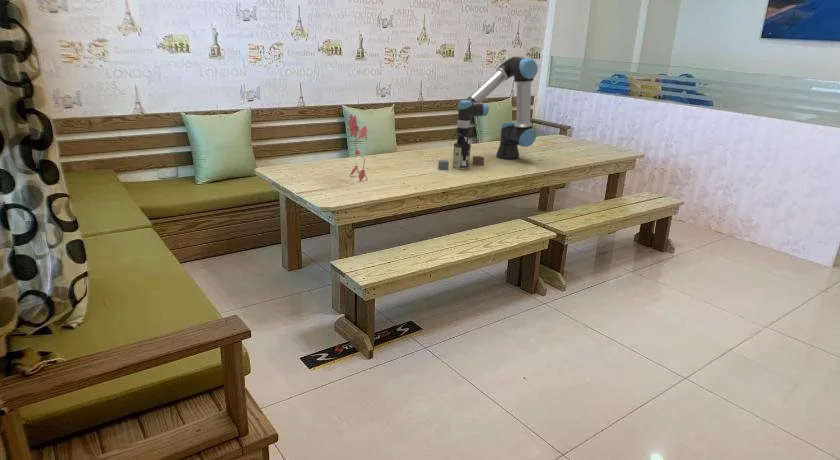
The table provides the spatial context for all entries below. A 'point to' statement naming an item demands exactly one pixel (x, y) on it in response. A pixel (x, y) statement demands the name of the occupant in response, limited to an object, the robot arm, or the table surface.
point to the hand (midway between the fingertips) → (460, 163)
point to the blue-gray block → (443, 165)
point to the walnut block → (478, 160)
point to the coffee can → (460, 156)
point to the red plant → (353, 131)
